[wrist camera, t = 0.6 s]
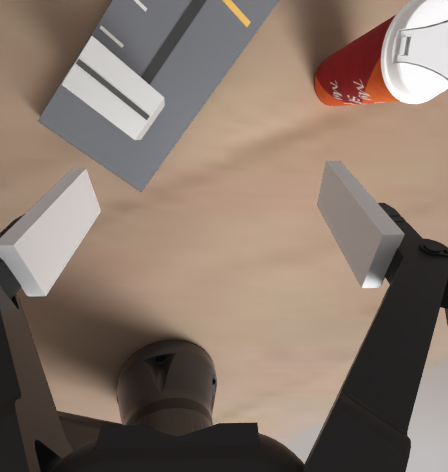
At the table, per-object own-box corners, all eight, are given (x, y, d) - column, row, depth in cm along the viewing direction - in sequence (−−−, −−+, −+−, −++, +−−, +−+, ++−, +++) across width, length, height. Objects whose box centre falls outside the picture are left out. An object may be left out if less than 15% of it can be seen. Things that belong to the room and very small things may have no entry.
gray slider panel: (142, 189, 34) (141, 192, 32) (45, 122, 30) (37, 121, 28) (303, -35, 29) (313, -47, 27) (216, -152, 25) (220, -176, 23)
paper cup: (303, 115, 35) (385, 102, 22) (308, 43, 32) (405, -20, 19) (359, 115, 36) (466, 102, 23) (368, 46, 33) (495, -12, 21)
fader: (143, 139, 30) (134, 140, 22) (91, 99, 28) (61, 84, 20) (164, 108, 29) (164, 97, 21) (113, 65, 27) (91, 35, 19)
